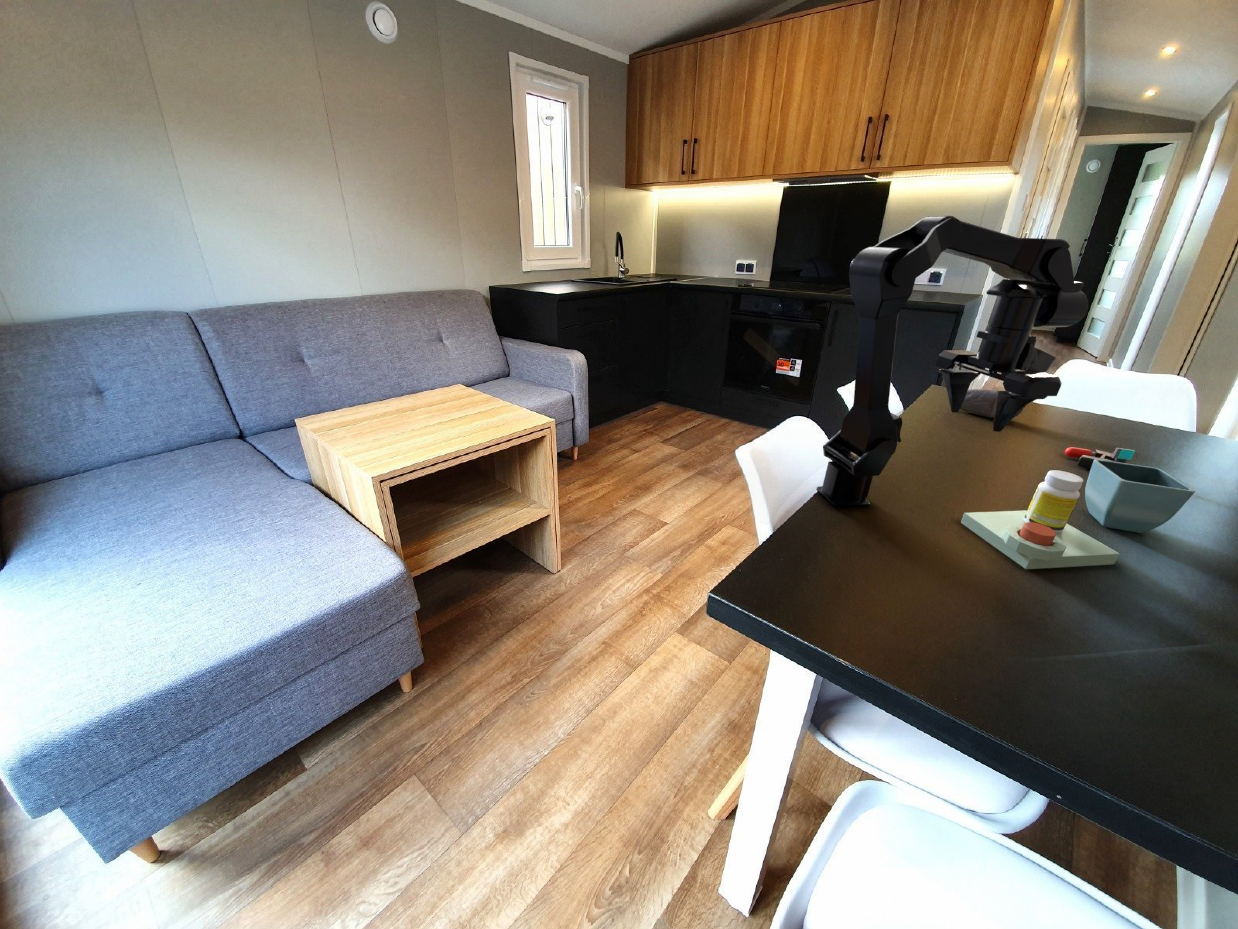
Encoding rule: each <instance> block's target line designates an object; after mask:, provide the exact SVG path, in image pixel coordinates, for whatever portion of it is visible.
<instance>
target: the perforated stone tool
mask: <svg viewBox="0 0 1238 929" xmlns="http://www.w3.org/2000/svg"><path fill="white" fill-rule="evenodd" d="M999 391H1000V390H994V389H982V388H980V389H979V388H976V389H975V388H974V389H968V391H967V394H966V396H965V399H964V401H963V404H962V406H961V408H960V410H961V411H963V412H966V413H972V414H974V415H977V416H979V417H980V416H981V417H986V418H989V419H994V416H995V410H996V404H997V397H998V392H999ZM1023 410H1024V408H1023V409H1022V410H1020V411H1019V412H1018V413H1017V414H1016V416H1015V417H1014V418H1013V419H1015V418H1016V417H1018V416H1019V415H1020V414H1022V412H1023Z"/></svg>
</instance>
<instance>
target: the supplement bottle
mask: <svg viewBox="0 0 1238 929" xmlns="http://www.w3.org/2000/svg"><path fill="white" fill-rule="evenodd" d="M1083 483H1084V479H1083V477H1081V476H1079V475H1078V474H1075V473H1071V472H1068V471H1063V470H1059V469H1058V470H1057V469H1056V470H1053V469H1052V470H1049V471H1048V472H1047V473H1046V475H1045V477H1044V481H1042V482H1040V483H1039V484H1038V485H1037V488H1036V490H1035V492H1034V494H1033V496H1032V498H1031V501H1030V503H1029V506H1028V507H1027V512H1026V514H1025V517H1024V521H1025V522H1033V523H1038V524H1042V525H1045V526H1047V527H1049V528H1051V529H1052V530H1054V531H1055V532H1056V533H1060V532H1062V531H1063V529H1064V527H1065V525H1066V523H1067V524H1068V521H1069V519H1070V517H1071V515H1072V513H1073V511H1074V509H1075V507H1076V505H1077V503H1078V501H1079V499H1080V496H1081V493H1080V492H1079V490H1080V489H1081V488H1082V485H1083Z"/></svg>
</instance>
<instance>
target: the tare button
mask: <svg viewBox="0 0 1238 929" xmlns="http://www.w3.org/2000/svg"><path fill="white" fill-rule="evenodd" d="M1019 536H1020V537H1022V538H1023V539H1025V540H1026V541H1029V542H1031V543H1034V544H1037V545H1042V546H1050V545H1051V544H1052V542H1053V540H1054V538H1055V536H1056V532H1055V531H1054V530H1052V529H1051V528H1049V527H1047V526H1045V525H1042V524H1038V523H1033V522H1026V523H1024V524H1023V526H1022V529H1021V531H1020V533H1019Z"/></svg>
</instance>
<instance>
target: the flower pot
mask: <svg viewBox="0 0 1238 929" xmlns="http://www.w3.org/2000/svg"><path fill="white" fill-rule="evenodd" d="M1195 493H1196V490H1194V489H1193V488H1191V487H1190V486H1188V485H1187V484H1185V483H1183V482H1182V481H1180V480H1178V479H1177V478H1175V477H1174V476H1172V475H1171V474H1168V472H1166V471H1164V470H1163V469H1161V468H1159V467H1152V466H1147V465H1146V466H1145V465H1139V464H1131V463H1127V462H1126V463H1119V462H1112V461H1105V460H1097V459H1095V460H1094V461H1093V464H1092V467H1091V469H1090V470H1089V474H1088V478H1087V480H1086V483H1085V488H1084V499H1085V504H1086V507H1087V508H1086V509H1087V511H1088V513H1089V514H1090V515H1091V516H1092V517H1093V518H1094V519H1095V520H1096V521H1097V522H1098V523H1099V524H1100V525H1101V526H1102V527H1104V528H1108V529H1115V530H1120V531H1126V532H1131V533H1137V534H1143V533H1146V532H1150V531H1152V530H1155V529H1156V528H1160V526H1161V527H1162V526H1163V525H1164V524H1166V523H1167V522H1168V521H1170V520H1171V519H1172V518H1173V517H1174V516H1176V514H1177V513H1178V512H1179V511H1180V510H1181V509H1182V508H1183V507H1184V505H1185V504H1186V503H1187V502H1188V501H1189V500H1190V498H1192V496H1193V495H1194V494H1195Z"/></svg>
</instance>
